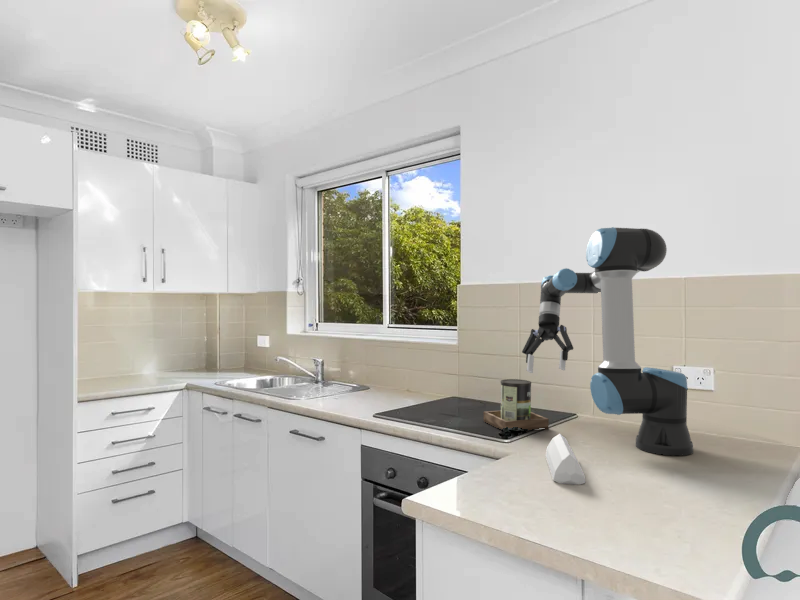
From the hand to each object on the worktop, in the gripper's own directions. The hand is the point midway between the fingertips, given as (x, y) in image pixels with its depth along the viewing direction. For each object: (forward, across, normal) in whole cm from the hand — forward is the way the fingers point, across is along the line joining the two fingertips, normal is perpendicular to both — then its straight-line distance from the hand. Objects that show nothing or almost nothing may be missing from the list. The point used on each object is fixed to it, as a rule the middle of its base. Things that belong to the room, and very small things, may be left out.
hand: (545, 370), depth 196 cm
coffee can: (+21, +4, +10) cm, 24 cm away
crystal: (+39, -32, +35) cm, 62 cm away
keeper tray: (+22, +4, +10) cm, 24 cm away
